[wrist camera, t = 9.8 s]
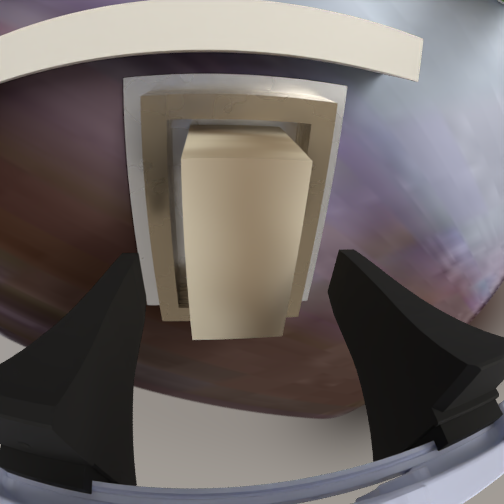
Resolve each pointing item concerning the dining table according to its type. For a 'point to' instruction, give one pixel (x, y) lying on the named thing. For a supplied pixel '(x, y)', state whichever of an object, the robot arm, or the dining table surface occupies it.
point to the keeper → (171, 148)
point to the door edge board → (209, 36)
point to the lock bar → (241, 227)
